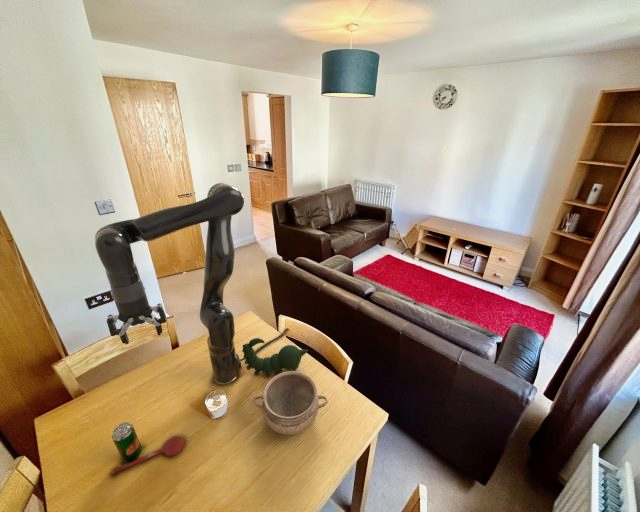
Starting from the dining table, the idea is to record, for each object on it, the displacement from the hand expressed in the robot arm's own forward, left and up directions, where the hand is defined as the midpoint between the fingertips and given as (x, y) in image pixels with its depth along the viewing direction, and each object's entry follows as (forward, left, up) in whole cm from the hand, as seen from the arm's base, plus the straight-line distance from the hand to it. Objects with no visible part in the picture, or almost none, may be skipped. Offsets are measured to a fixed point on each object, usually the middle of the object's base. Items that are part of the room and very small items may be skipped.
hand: (143, 338), depth 85 cm
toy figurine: (-41, +5, -30) cm, 51 cm away
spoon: (+4, +18, -30) cm, 35 cm away
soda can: (+9, +15, -30) cm, 35 cm away
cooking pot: (-38, +26, -30) cm, 55 cm away
